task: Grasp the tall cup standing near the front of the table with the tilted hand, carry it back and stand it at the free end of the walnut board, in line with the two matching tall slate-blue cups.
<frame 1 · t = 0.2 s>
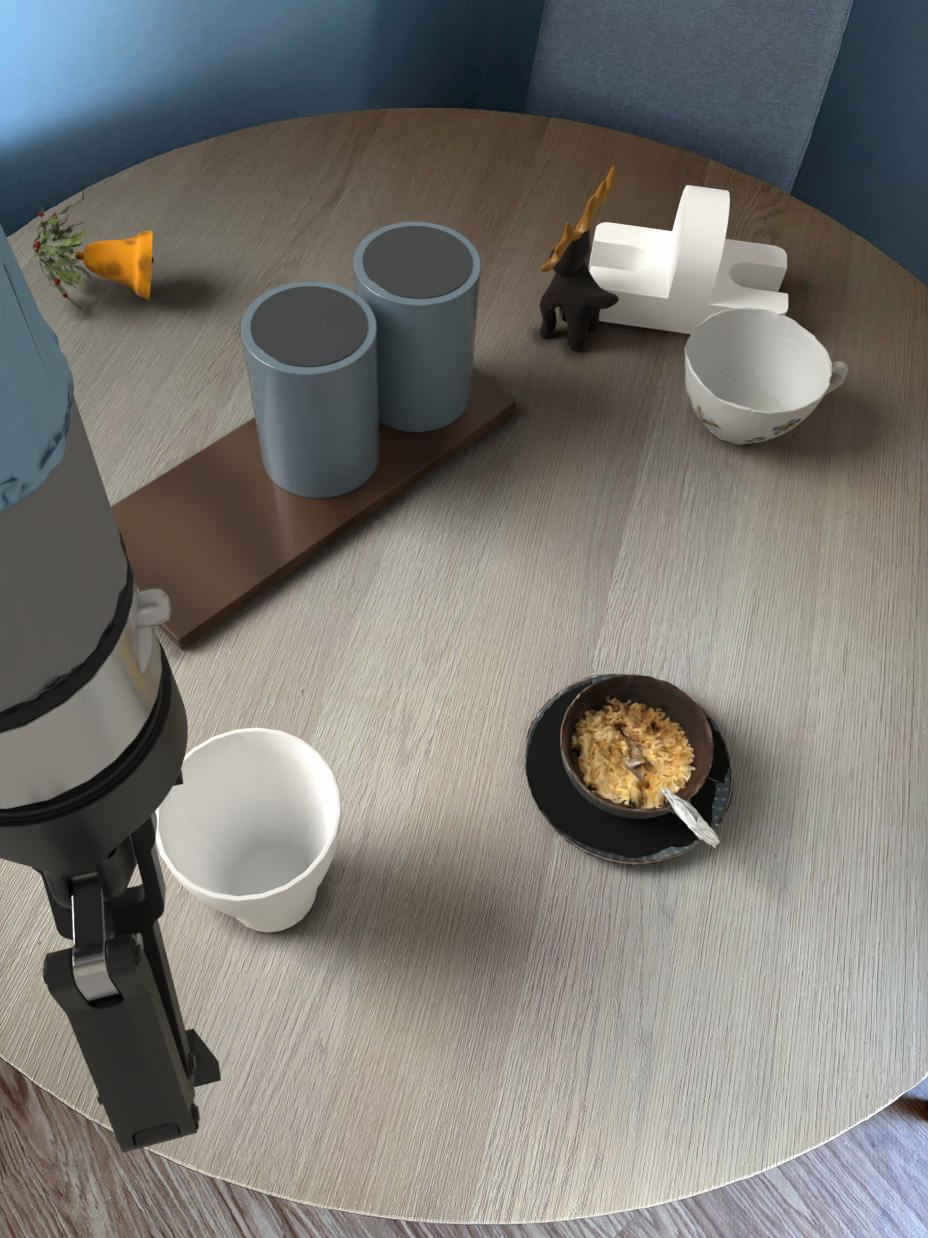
hand: (169, 920, 47), 22 cm above the table, tool pointing down, fingers open, 13 cm apart
walnut board: (308, 473, 90), on the table
figurine: (566, 337, 101), on the table
slate cup a: (320, 452, 89), resting on walnut board
cup: (272, 889, 71), on the table
slate cup b: (415, 390, 94), resting on walnut board
teacup: (747, 422, 96), on the table
bracket: (680, 299, 105), on the table
christmas decoration: (151, 300, 101), on the table
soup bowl: (624, 779, 76), on the table
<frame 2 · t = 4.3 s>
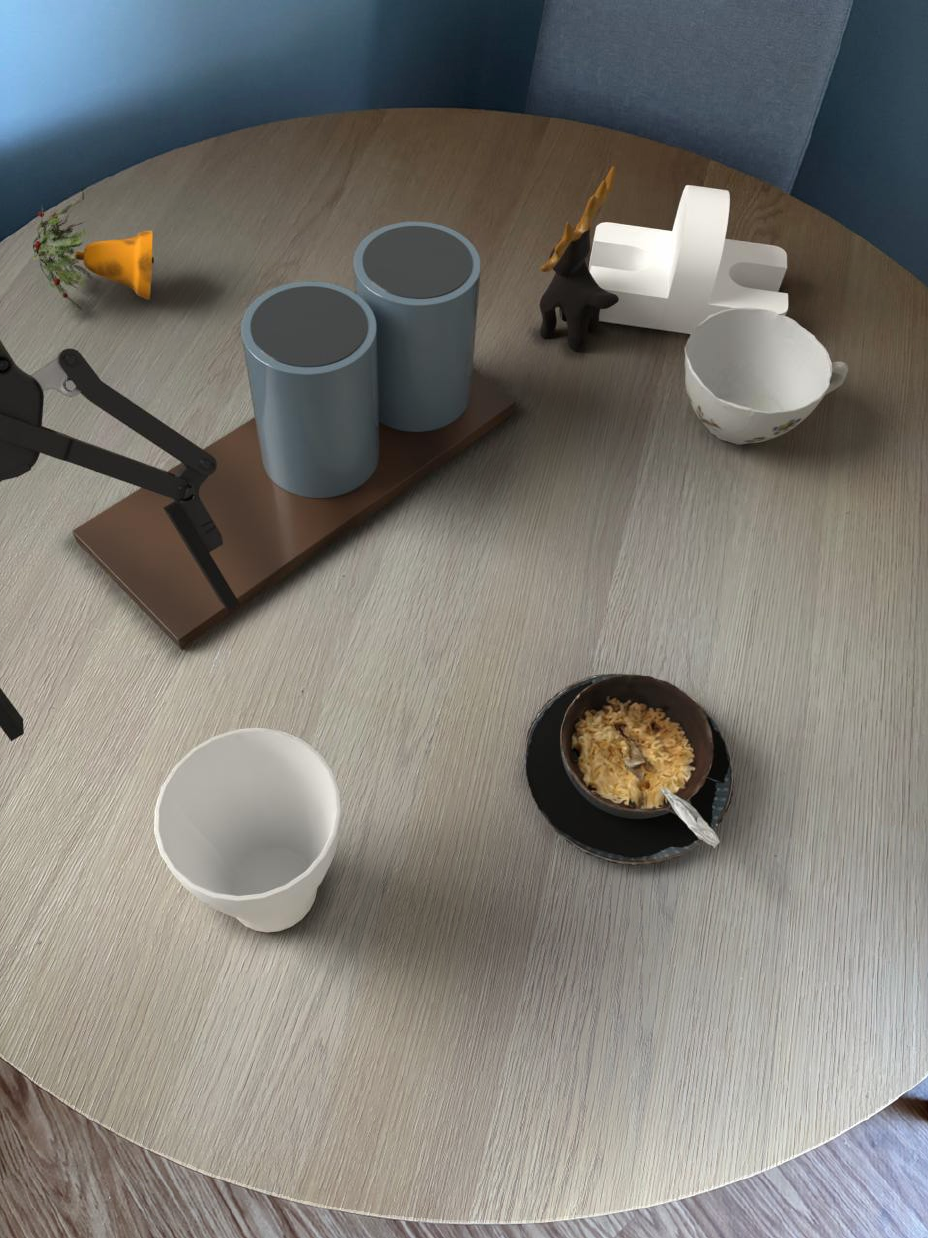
hand: (127, 665, 60), 17 cm above the table, tool tilted 40°, fingers open, 13 cm apart
nothing on the table moved.
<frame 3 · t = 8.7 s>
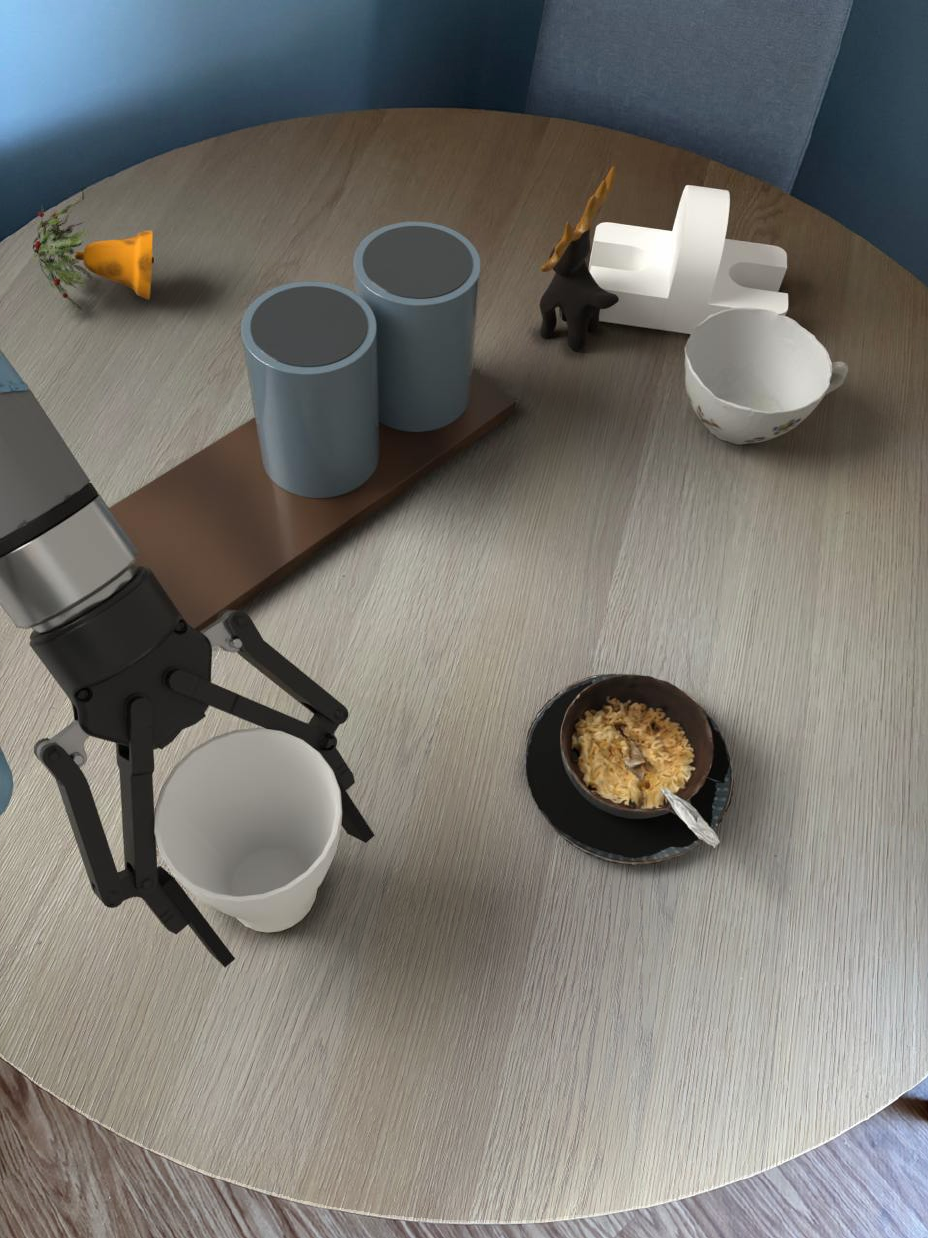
hand: (294, 893, 65), 5 cm above the table, tool tilted 45°, fingers closed on cup, 10 cm apart
cup: (272, 889, 71), on the table, touching gripper
everything else where it was.
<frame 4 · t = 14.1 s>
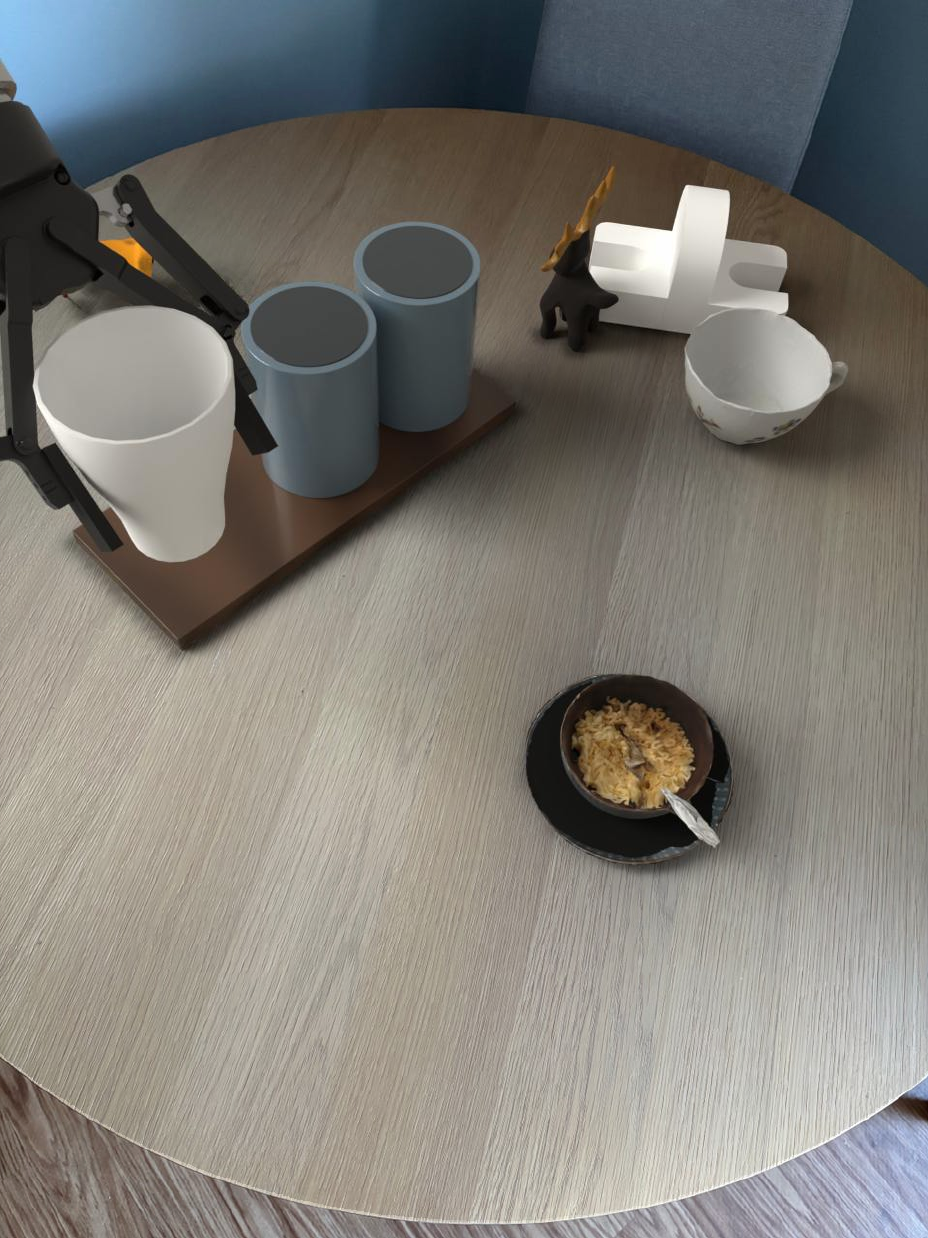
hand: (191, 497, 62), 21 cm above the table, tool tilted 45°, fingers closed on cup, 10 cm apart
cup: (178, 527, 68), point 15 cm above the table, touching gripper
everything else where it was.
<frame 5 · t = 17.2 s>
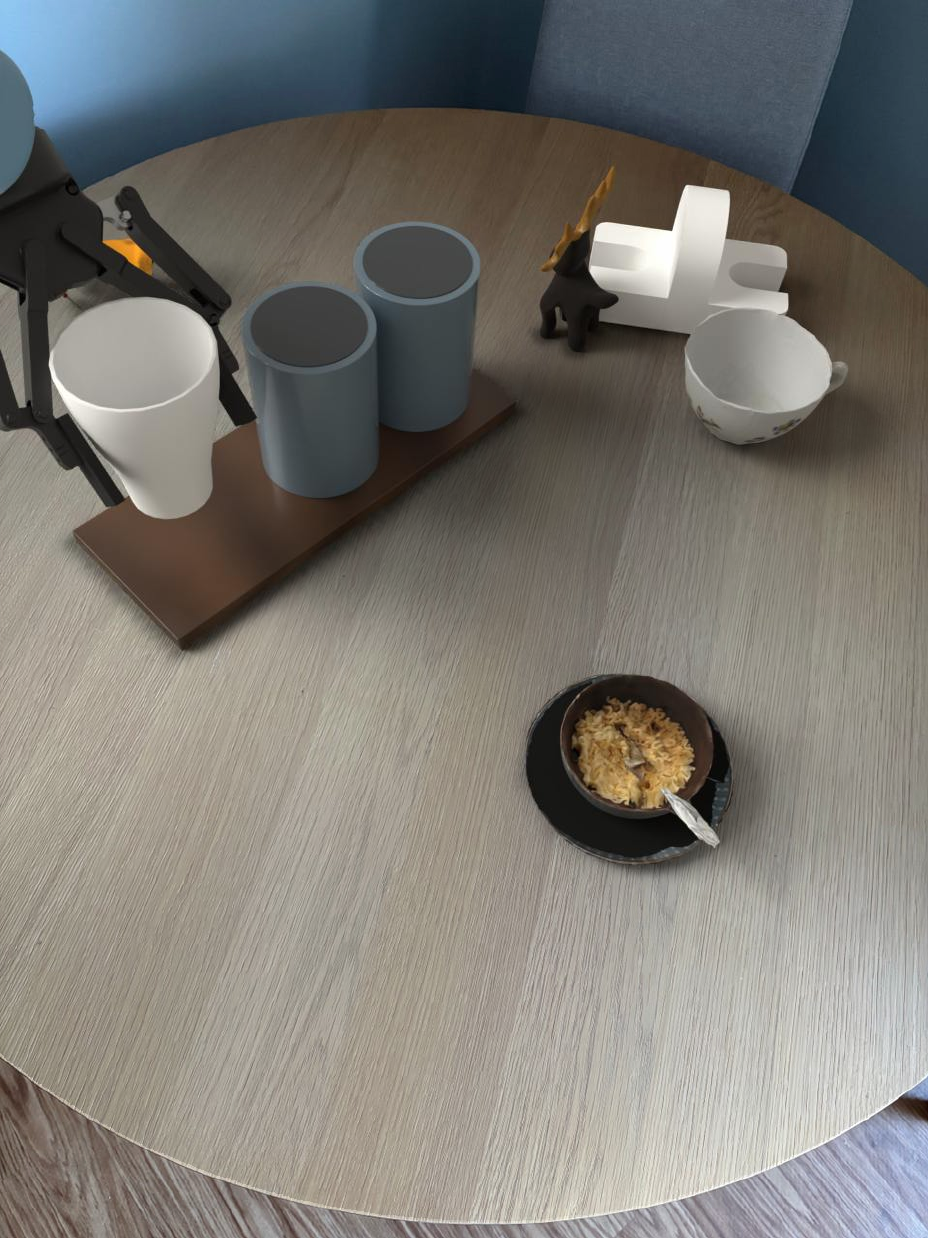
hand: (183, 461, 73), 14 cm above the table, tool tilted 45°, fingers closed on cup, 10 cm apart
cup: (172, 489, 78), point 8 cm above the table, touching gripper
everything else where it was.
when the fingers open (7 cm above the table, at t = 19.6 s): cup stays where it is, resting on walnut board.
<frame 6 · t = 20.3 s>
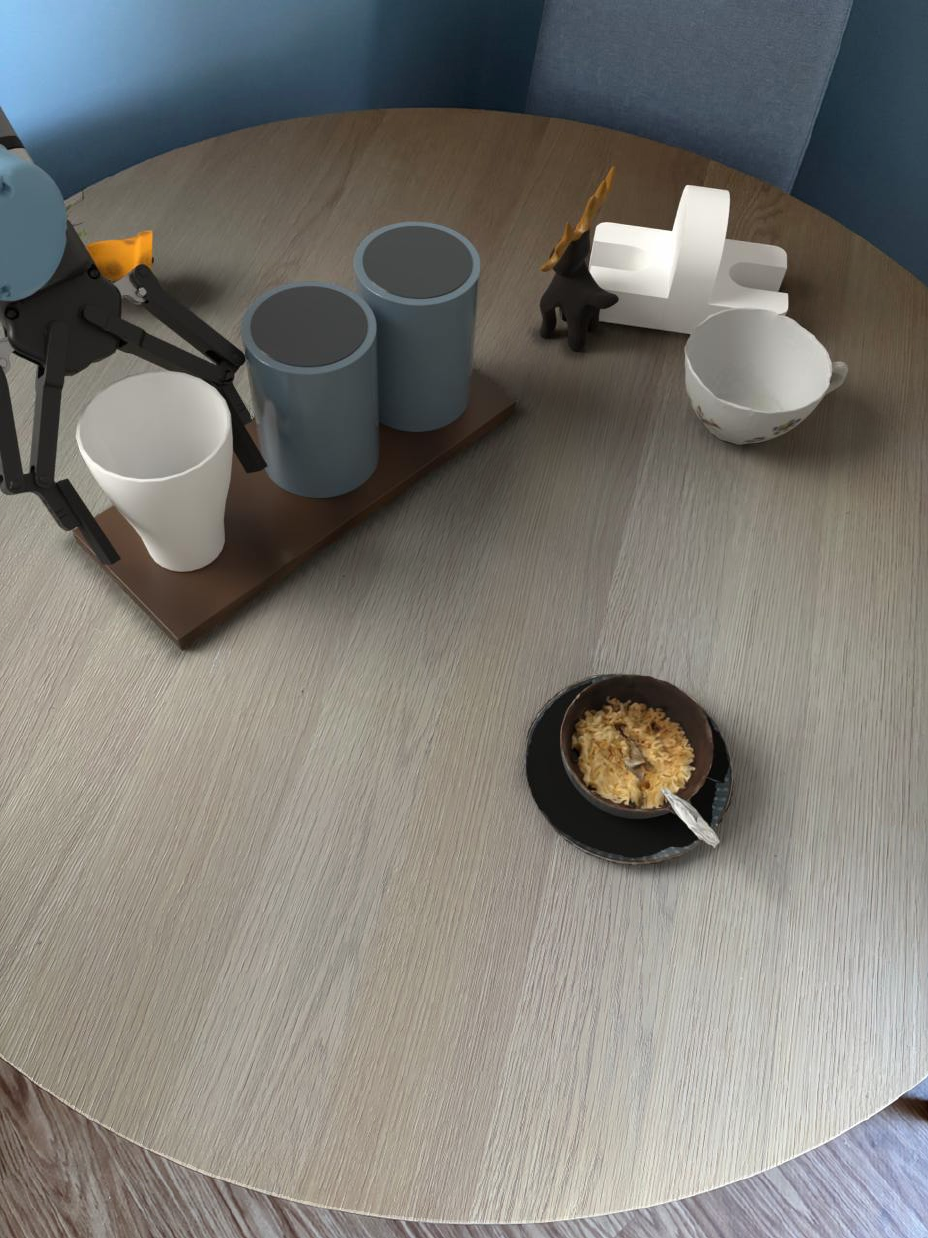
hand: (187, 514, 77), 8 cm above the table, tool tilted 45°, fingers open, 12 cm apart
cup: (187, 543, 84), point 1 cm above the table, touching walnut board
everything else where it was.
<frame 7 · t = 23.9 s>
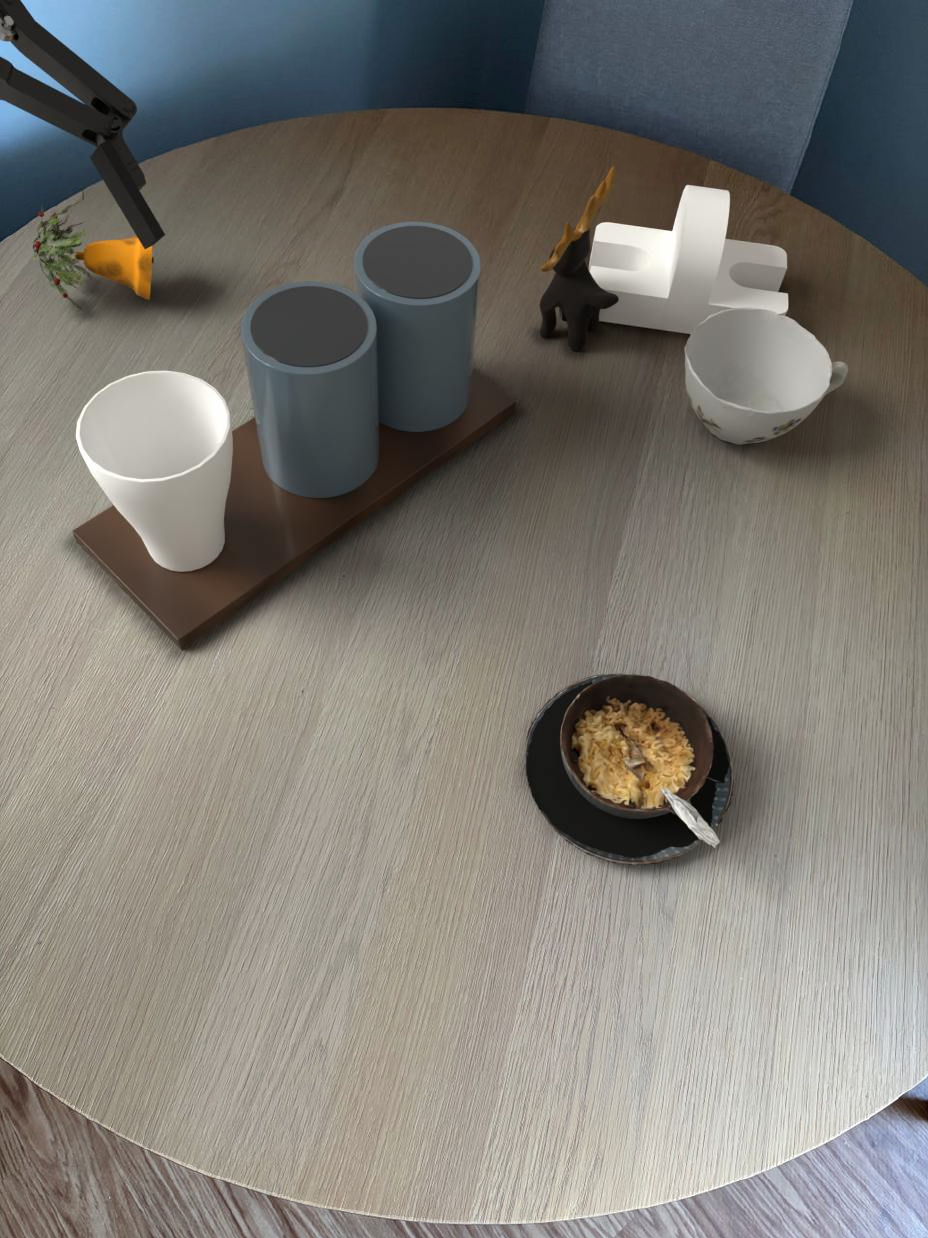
hand: (68, 286, 68), 23 cm above the table, tool tilted 45°, fingers open, 13 cm apart
nothing on the table moved.
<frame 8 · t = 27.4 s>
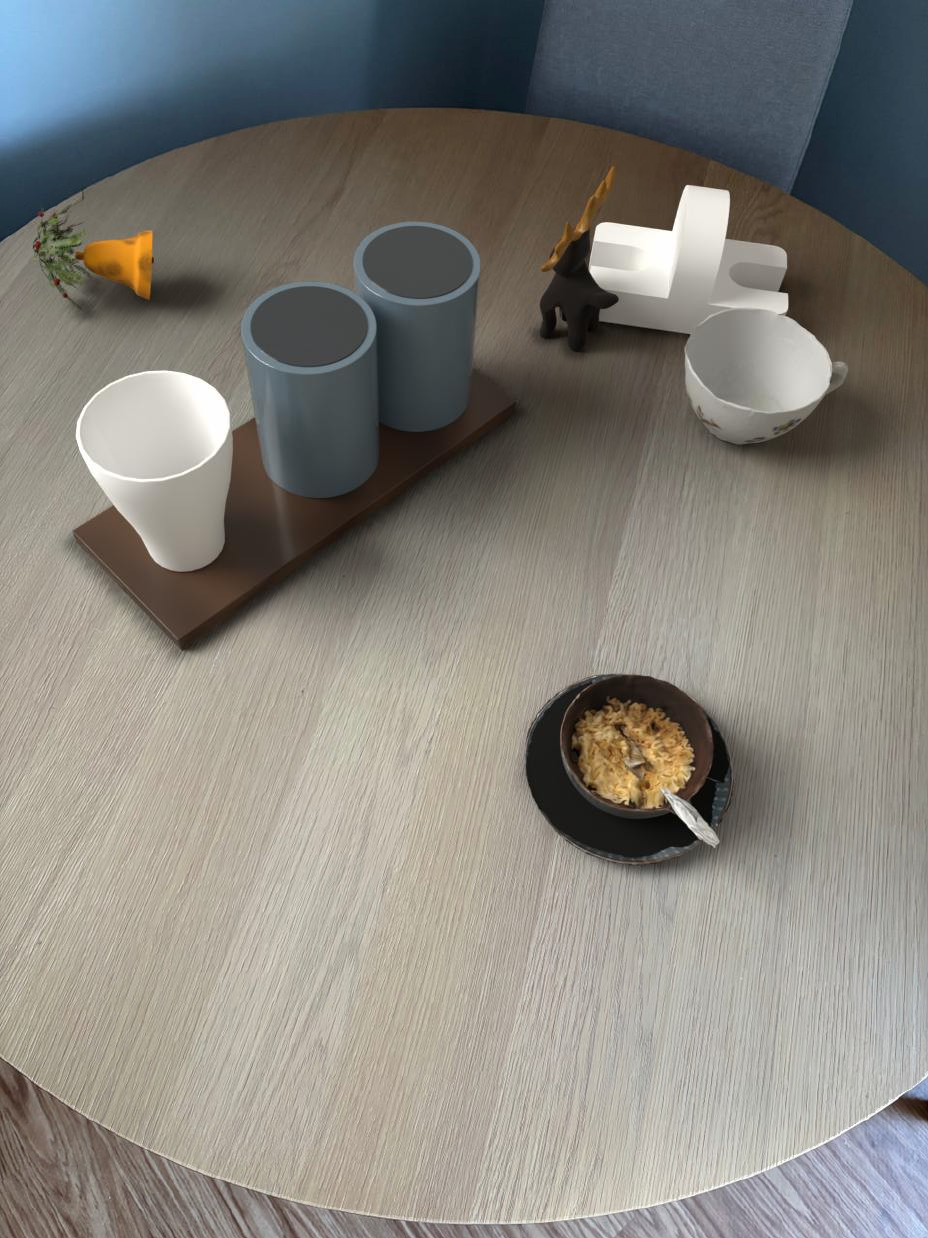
nothing on the table moved.
at the end: cup 0.1 cm from the target spot on the walnut board, point 1.3 cm above the walnut board's base; cup tilted 0°; cup 25.0 cm from the slate cup b (horizontally) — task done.
